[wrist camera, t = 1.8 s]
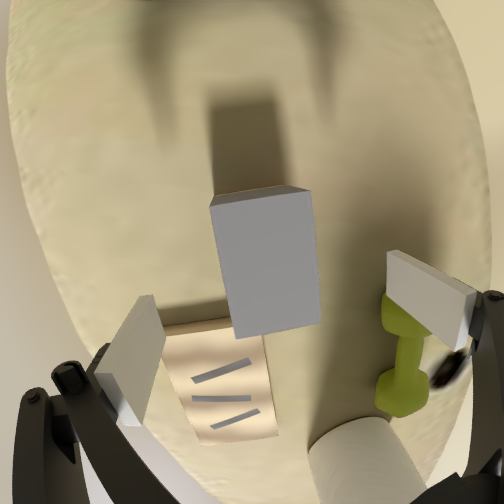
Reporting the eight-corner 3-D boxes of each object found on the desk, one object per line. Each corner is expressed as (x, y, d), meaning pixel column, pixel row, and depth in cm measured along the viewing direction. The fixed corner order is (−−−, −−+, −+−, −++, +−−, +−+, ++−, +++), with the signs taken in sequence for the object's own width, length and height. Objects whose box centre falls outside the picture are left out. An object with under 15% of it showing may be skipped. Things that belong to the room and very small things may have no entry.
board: (158, 327, 26) (154, 337, 24) (257, 312, 27) (259, 322, 25) (202, 434, 32) (202, 445, 30) (276, 424, 32) (278, 435, 30)
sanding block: (214, 195, 24) (209, 206, 16) (283, 184, 24) (310, 190, 16) (231, 292, 26) (235, 339, 18) (294, 280, 26) (321, 322, 19)
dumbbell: (367, 287, 28) (403, 319, 21) (424, 269, 28) (464, 293, 21) (362, 393, 32) (384, 430, 25) (411, 374, 33) (436, 405, 26)
